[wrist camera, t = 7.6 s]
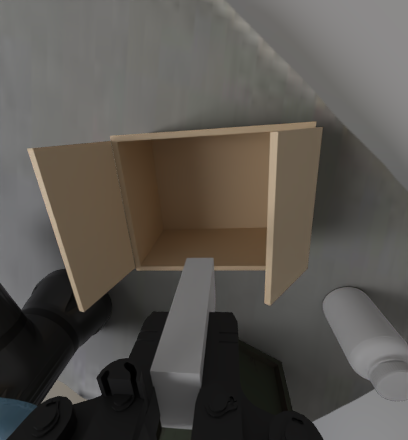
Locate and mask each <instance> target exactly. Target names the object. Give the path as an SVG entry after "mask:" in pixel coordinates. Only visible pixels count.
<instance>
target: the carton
mask: <svg viewBox="0 0 408 440" xmlns="http://www.w3.org/2000/svg"><path fill="white" fill-rule="evenodd" d="M315 127H316V122H302V123H288V124H274V125H259V126H245V127H231V128H216V129H202V130H188V131H173V132H159V133H145V134H131V135H116V136H110V138H111V143H112V148H113V153H114V159H115V164H116V169H117V174H118V179H119V184H120V189H121V194H122V199H123V204H124V209H125V214H126V220H127V225H128V230H129V235H130V240H131V245H132V250H133V255H134V260H135V265H136V270H137V271H168V270H183V268H184V265H185V262H186V259H187V258H214V270H266V243H267V214H268V185H269V155H270V132H276V131H286V130H295V129H305V128H315Z"/></svg>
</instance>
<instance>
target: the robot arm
mask: <svg viewBox="0 0 408 440" xmlns="http://www.w3.org/2000/svg"><path fill="white" fill-rule="evenodd" d="M215 302H216V292H215V275H214V258H187V259H186V262H185V265H184V268H183V271H182V274H181V277H180V280H179V283H178V286H177V289H176V293H175V296H174V299H173V302H172V305H171V308H170V311H169V312H153V313H152V314H151V315H150V316H149V317H148V318H147V319H146V320H145V322H144V324H143V326H142V329H141V332H140V333H139V336H138V338H137V341H136V342H135V345H134V347H133V349H132V352H131V354H130V356H129V358H125V359H118V360H116V361H114V362H112V363H110V364H109V365H107V366H106V367H105V368H104V369H103V370H102V371H101V372H100V374H99V375H98V376H97V381H98V384H99V387H100V390H101V393H102V395H101V396H99V397H96V398H94V399H90V400H87V401H84V402H80V403H77V404H73V405H72V402H71V401H70V400H69V399H68V398H67V397H62V396H57V397H54V398H51V399H48V400H47V401H45V402H43V403H41V402H42V401H43V400H44V398H45V397H46V395H47V393H48V392H49V391H50V389H51V388H52V386H53V385H54V383H55V382H56V380H57V379H58V377H59V376H60V374H61V373H62V371H63V370H64V368H65V367H66V365H67V364H68V362H69V361H70V359H71V358H72V356H73V355H74V354H75V352H76V351H77V349H78V348H79V347H80V346H81V345H83V344H84V343H85V342H86V341H87V340H88V339H89V338H90V337H91V336H92V335H94V334H96V333H97V332H99V331H100V330H101V329H102V328H103V326H104V325H105V323H106V322H107V320H108V319H109V317H110V314H111V309H112V306H111V301H110V298H109V295H108V294H107V293H106V294H105V295H103V296H102V297H101V298H100V299H99V300H98V301H96V302H95V303H94V304H93V305H92V306H91V307H90V308H88V309H87V310H86V311H85V312H82V311H79V308H78V305H77V302H76V299H75V296H74V292H73V289H72V286H71V283H70V280H69V277H68V274H67V271H66V269H64V270H57V271H54V272H52V273H50V274H48V275H47V276H46V277H45V278H43V279H42V280H41V281H40V282H39V283H38V284H37V285H36V287H35V288H34V290H33V292H32V295H31V297H30V298H29V299H28V301H27V302H26V304H25V305H24V307H23V308H22V310H21V309H20V308H19V307H18V305H17V304H16V303H15V301H14V300H13V299H12V298H11V296H10V295H9V294H8V292H7V291H6V290H5V288H4V287H3V286H2V285H1V283H0V440H157V437H156V433H157V428H158V424H159V420H160V421H161V426H162V427H166V428H178V429H191V430H192V434H191V440H323V438H322V436H321V435H320V433H319V432H318V430H317V428H316V427H315V426H314V424H313V423H312V422H311V421H310V420H309V419H307V418H306V417H305V416H304V415H302V414H299V413H297V412H295V411H283V412H281V413H279V414H276V415H273V414H271V413H269V412H266V411H264V410H262V409H260V408H258V407H256V406H255V405H253V404H252V403H251V402H250V401H249V400H248V399H247V397H246V396H245V394H244V393H243V390H242V388H241V384H240V370H239V346H238V323H237V320H236V318H235V317H234V315H233V313H232V312H215Z"/></svg>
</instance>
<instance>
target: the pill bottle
mask: <svg viewBox="0 0 408 440" xmlns="http://www.w3.org/2000/svg"><path fill="white" fill-rule="evenodd" d="M323 312H324V314H325V316H326V318H327V320H328V322H329V324H330V326H331V328H332V330H333V332H334V334H335V336H336V338H337V340H338V342H339V344H340V346H341V348H342V350H343V352H344V354H345V356H346V358H347V360H348V362H349V364H350V365H351V367H352V368H353V370H354V371H355V372H356V373H357V374H358V375H360V376H361V377H363V378H365V379H367V380H370V381H371V383H372V384H373V386H374V388H375V390H376V391H377V393H378V394H379V395H380V396H382V397H383V398H385V399H387V400H391V401H405V400H408V344H407V343H406V341H405V340H404V339H403V338H402V337H401V335H400V334H399V333H398V332H397V331H396V329H395V328H394V327H393V326H392V325H391V323H390V322H389V321H388V320H387V318H386V317H385V316H384V315H383V314H382V312H381V311H380V310H379V309H378V308H377V306H376V305H375V304H374V303H373V302H372V300H371V299H370V298H369V297H368V296H367V295H366V294H365V293H364V292H363V291H361V290H359V289H357V288H354V287H342V288H338V289H335V290H333V291H332V292H330V293H329V294H328V295H327V296H326V297H325V299H324V301H323Z"/></svg>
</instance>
